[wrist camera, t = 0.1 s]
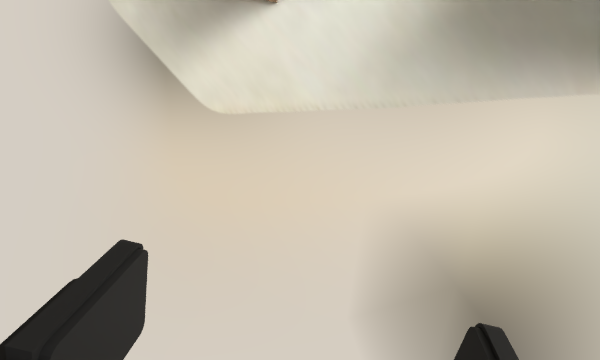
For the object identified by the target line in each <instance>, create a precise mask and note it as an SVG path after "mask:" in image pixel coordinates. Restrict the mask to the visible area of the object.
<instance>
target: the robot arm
mask: <svg viewBox="0 0 600 360" xmlns="http://www.w3.org/2000/svg"><path fill="white" fill-rule="evenodd" d="M147 266H148V252H147V251H146V250H143V246H142V244H139V243H135V242H131V241H127V240H120V241H119V242H117V243H116V244H115V245H114V246H113V247H112V248H111V249H110V250H109V251H108V252H106V253H105V254H104V255H103V256H102V257H101V258H100V259H99V260H98V261H97V262H96V263H94V264H93V265H92V266H91V267H90V268H89V269H88V270H87V271H86V272H85V273H83V274H82V275H81V276H80V277H79V278H77V279H74V280H72V281H71V282H69V283H68V284H67V285H66V286H65V287H64V288H62V289H61V290H60V291H59V292H58V293H57V294H56V295H55V296H53V297H52V298H51V299H50V300H49V301H48V302H47V303H46V304H45V305H43V306H42V307H41V308H40V309H39V310H38V311H37V312H36V313H35V314H33V315H32V316H31V317H30V318H29V319H28V320H27V321H26V322H25V323H23V324H22V325H21V326H20V327H19V328H18V329H17V330H16V331H15V332H13V333H12V334H11V335H10V336H9V337H8V338H7V339H6V340H5V341H3V342H2V343H1V344H0V360H123V359H124V358H125V356H126V355H127V353H128V352H129V350H130V349H131V347H132V346H133V344H134V343H135V342H136V340H137V339H138V337H139V335H140V334H141V332H142V330H143V326H144V322H145V304H146V285H147ZM454 360H519V359H518V357H517V355H516V354H515V352H514V350H513V348H512V346H511V344H510V342H509V340H508V338H507V337H506V335H505V333H504V331H503V330H502V329H501V328H499V327H494V326H490V325H486V324H482V323H479V324H477V325H476V326H475V327H470V328H469V329H468V331H467V333H466V335H465V338H464V340H463V342H462V344H461V346H460V348H459V350H458V352H457V354H456V356H455V359H454Z"/></svg>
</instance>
